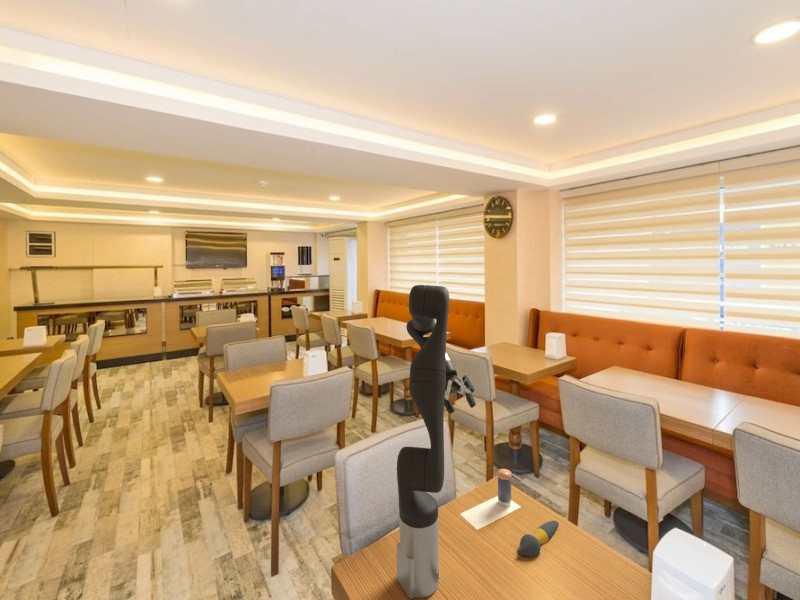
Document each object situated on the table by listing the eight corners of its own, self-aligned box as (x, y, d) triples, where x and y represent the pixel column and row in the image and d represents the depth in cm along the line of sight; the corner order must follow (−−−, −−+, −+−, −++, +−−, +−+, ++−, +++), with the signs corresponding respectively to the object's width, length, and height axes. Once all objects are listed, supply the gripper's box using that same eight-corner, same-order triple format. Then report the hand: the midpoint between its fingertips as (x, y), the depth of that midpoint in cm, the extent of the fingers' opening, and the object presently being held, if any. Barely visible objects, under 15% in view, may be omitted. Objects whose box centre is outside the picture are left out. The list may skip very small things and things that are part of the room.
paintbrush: (544, 519, 106) (545, 504, 105) (561, 528, 102) (562, 512, 102) (512, 559, 92) (512, 542, 91) (531, 571, 88) (531, 553, 88)
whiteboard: (476, 537, 99) (476, 532, 99) (455, 518, 107) (455, 513, 107) (525, 511, 109) (525, 507, 109) (503, 495, 117) (503, 491, 117)
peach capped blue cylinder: (504, 509, 108) (504, 477, 107) (494, 501, 112) (494, 471, 111) (514, 504, 110) (514, 473, 109) (504, 497, 114) (504, 467, 113)
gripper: (428, 362, 114) (450, 409, 105) (462, 356, 121) (486, 399, 112) (419, 374, 119) (440, 419, 110) (452, 367, 126) (474, 409, 117)
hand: (463, 409), depth 111 cm, fingers open, 8 cm apart
